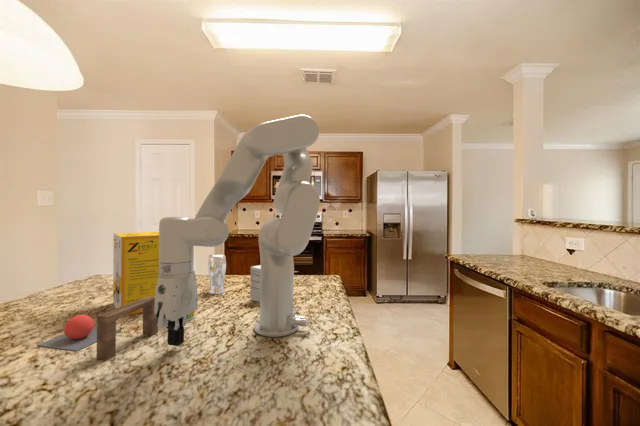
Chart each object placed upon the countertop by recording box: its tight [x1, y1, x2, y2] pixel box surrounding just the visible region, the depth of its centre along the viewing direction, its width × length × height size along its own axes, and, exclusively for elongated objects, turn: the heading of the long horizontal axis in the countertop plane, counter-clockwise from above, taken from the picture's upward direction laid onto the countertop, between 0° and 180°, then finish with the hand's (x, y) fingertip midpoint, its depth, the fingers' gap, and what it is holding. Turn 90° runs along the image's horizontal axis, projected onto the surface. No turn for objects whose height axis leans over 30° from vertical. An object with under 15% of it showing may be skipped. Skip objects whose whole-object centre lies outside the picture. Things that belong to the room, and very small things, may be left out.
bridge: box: [96, 296, 159, 361], centre depth 73 cm, size 3×15×10 cm, turn 168°
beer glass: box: [207, 253, 227, 295], centre depth 119 cm, size 7×7×15 cm
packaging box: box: [112, 231, 159, 317], centre depth 102 cm, size 16×16×25 cm
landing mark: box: [36, 326, 121, 352], centre depth 76 cm, size 12×12×1 cm
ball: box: [63, 314, 95, 340], centre depth 75 cm, size 6×6×6 cm
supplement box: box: [249, 264, 261, 304], centre depth 110 cm, size 7×7×13 cm
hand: (175, 343), depth 70 cm, fingers closed
